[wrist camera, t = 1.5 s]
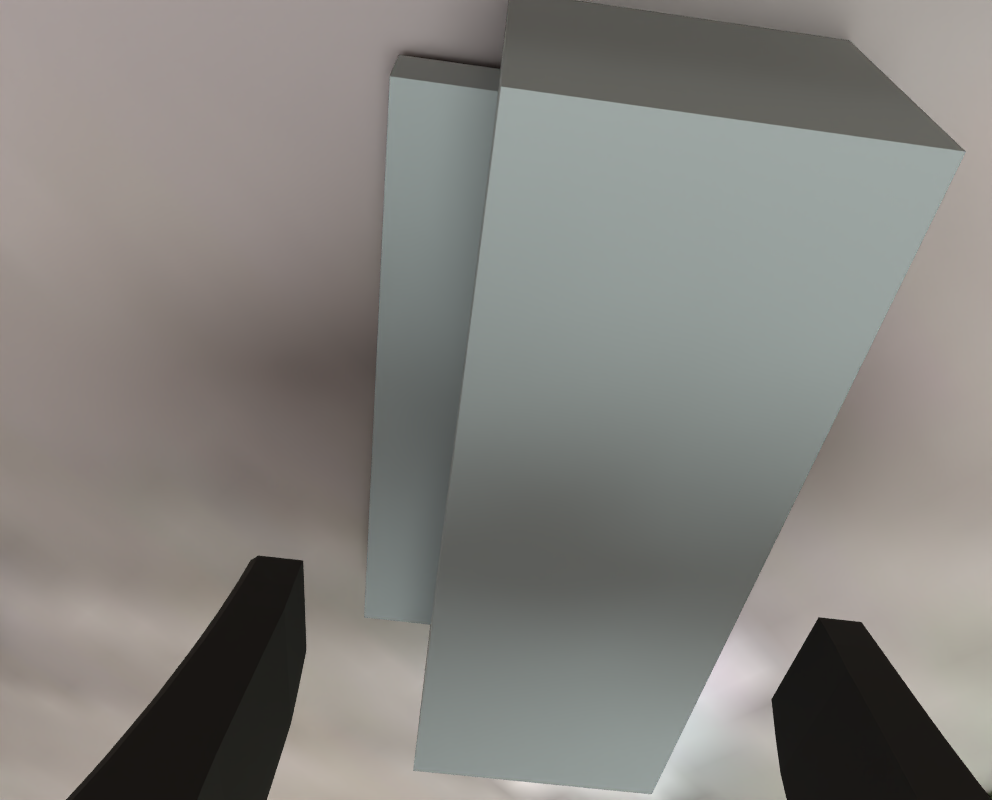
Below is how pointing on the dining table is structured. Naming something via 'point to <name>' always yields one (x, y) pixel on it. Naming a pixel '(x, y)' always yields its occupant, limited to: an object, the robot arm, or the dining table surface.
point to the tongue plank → (617, 360)
